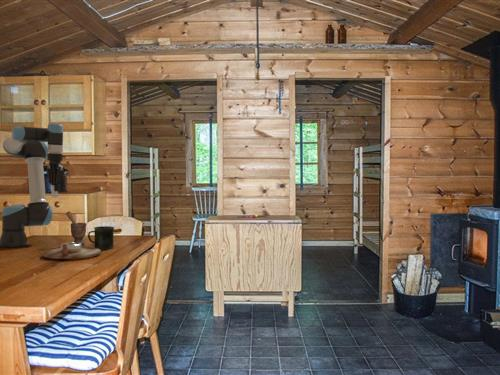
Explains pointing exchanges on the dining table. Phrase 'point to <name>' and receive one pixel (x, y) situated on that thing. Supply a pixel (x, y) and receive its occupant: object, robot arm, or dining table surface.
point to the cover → (73, 247)
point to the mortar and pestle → (77, 229)
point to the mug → (103, 237)
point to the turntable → (65, 255)
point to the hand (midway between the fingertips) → (54, 197)
